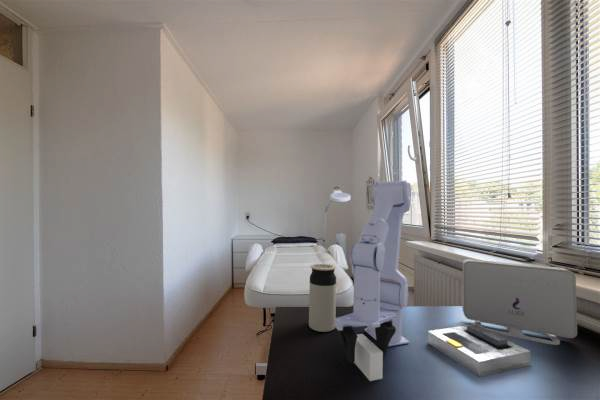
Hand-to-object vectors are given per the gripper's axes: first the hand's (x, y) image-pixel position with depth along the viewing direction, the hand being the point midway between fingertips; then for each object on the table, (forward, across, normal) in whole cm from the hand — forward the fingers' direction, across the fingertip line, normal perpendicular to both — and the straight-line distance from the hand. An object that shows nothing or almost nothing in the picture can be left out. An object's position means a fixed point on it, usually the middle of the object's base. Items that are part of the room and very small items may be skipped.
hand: (365, 358), depth 55 cm
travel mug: (+2, -2, +21) cm, 21 cm away
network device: (+2, +53, +4) cm, 53 cm away
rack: (+2, +30, -2) cm, 30 cm away
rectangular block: (+2, 0, 0) cm, 2 cm away
